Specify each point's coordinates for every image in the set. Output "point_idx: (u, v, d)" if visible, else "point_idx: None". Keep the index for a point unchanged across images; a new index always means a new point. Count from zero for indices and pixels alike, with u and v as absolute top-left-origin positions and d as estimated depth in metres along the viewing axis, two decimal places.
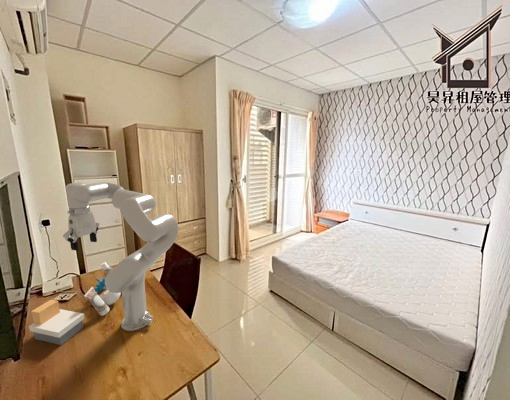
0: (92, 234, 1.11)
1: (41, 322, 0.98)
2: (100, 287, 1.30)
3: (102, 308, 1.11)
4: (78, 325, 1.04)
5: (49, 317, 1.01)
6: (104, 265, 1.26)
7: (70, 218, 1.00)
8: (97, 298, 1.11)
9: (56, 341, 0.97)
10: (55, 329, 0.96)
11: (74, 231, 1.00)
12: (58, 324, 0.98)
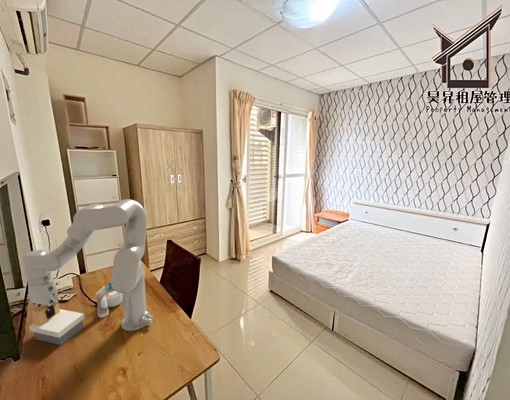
0: None
1: (41, 322, 0.98)
2: None
3: (103, 311, 1.12)
4: (78, 325, 1.04)
5: None
6: None
7: (48, 285, 0.97)
8: (104, 299, 1.12)
9: (56, 341, 0.97)
10: (55, 329, 0.96)
11: (55, 295, 1.00)
12: (58, 324, 0.98)
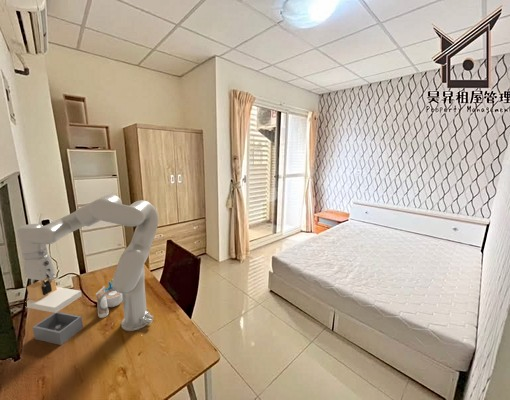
0: None
1: (37, 298, 0.95)
2: None
3: (103, 311, 1.12)
4: (78, 325, 1.04)
5: None
6: None
7: (44, 260, 0.95)
8: (104, 299, 1.12)
9: (56, 341, 0.97)
10: (51, 304, 0.93)
11: (51, 270, 0.98)
12: (55, 300, 0.96)
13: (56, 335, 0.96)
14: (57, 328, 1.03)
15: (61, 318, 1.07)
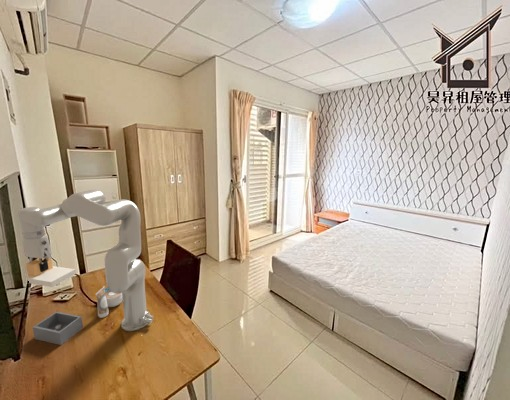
0: None
1: (35, 274, 1.06)
2: None
3: (103, 311, 1.12)
4: (78, 325, 1.04)
5: None
6: None
7: (42, 240, 1.05)
8: (104, 299, 1.12)
9: (56, 341, 0.97)
10: (48, 279, 1.04)
11: (49, 250, 1.08)
12: (51, 276, 1.06)
13: (56, 335, 0.96)
14: (57, 328, 1.03)
15: (61, 318, 1.07)
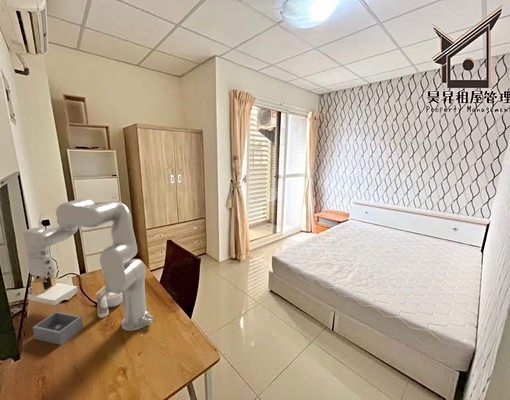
0: None
1: (39, 292, 1.10)
2: None
3: (103, 311, 1.12)
4: (78, 325, 1.04)
5: None
6: None
7: (46, 259, 1.10)
8: (104, 299, 1.12)
9: (56, 341, 0.97)
10: (51, 298, 1.08)
11: (52, 268, 1.12)
12: (54, 294, 1.11)
13: (56, 335, 0.96)
14: (57, 328, 1.03)
15: (61, 318, 1.07)
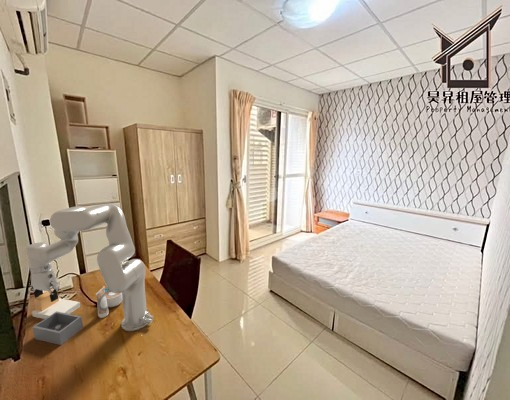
0: (38, 290, 1.16)
1: (42, 309, 1.12)
2: None
3: (103, 311, 1.12)
4: (78, 325, 1.04)
5: (49, 304, 1.15)
6: None
7: (48, 273, 1.11)
8: (104, 299, 1.12)
9: (56, 341, 0.97)
10: None
11: (55, 282, 1.14)
12: (57, 310, 1.13)
13: (56, 335, 0.96)
14: (57, 328, 1.03)
15: (61, 318, 1.07)
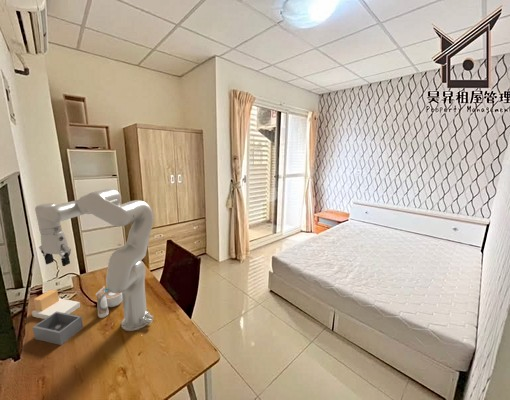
0: (49, 255, 1.10)
1: (42, 309, 1.12)
2: None
3: (103, 311, 1.12)
4: (78, 325, 1.04)
5: (49, 304, 1.15)
6: None
7: (59, 235, 1.06)
8: (104, 299, 1.12)
9: (56, 341, 0.97)
10: None
11: None
12: (57, 310, 1.13)
13: (56, 335, 0.96)
14: (57, 328, 1.03)
15: (61, 318, 1.07)
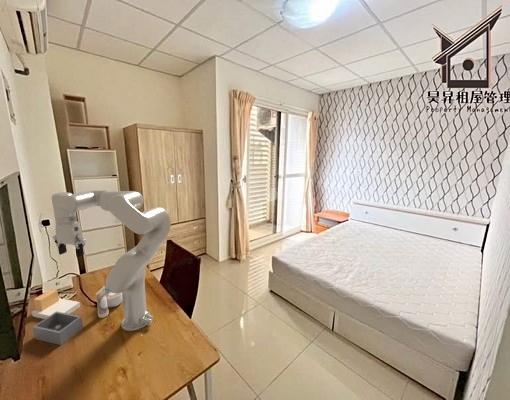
0: (62, 245, 1.08)
1: (42, 309, 1.12)
2: None
3: (103, 311, 1.12)
4: (78, 325, 1.04)
5: (49, 304, 1.15)
6: None
7: (74, 226, 1.03)
8: (104, 299, 1.12)
9: (56, 341, 0.97)
10: None
11: (80, 236, 1.06)
12: (57, 310, 1.13)
13: (56, 335, 0.96)
14: (57, 328, 1.03)
15: (61, 318, 1.07)
